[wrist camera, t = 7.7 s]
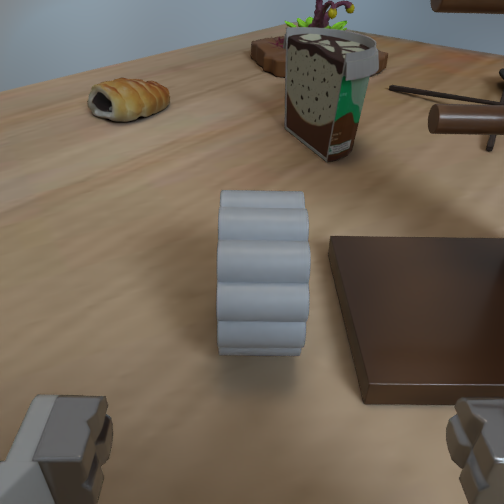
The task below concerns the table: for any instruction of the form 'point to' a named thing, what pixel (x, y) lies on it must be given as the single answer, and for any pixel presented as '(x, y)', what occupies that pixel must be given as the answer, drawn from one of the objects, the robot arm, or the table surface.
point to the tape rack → (427, 291)
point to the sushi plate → (491, 141)
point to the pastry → (127, 99)
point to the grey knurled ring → (262, 273)
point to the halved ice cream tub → (326, 86)
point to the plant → (272, 50)
